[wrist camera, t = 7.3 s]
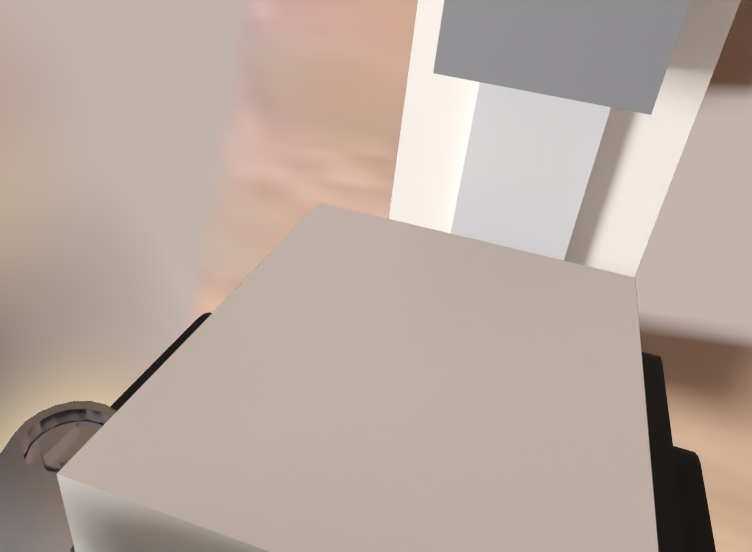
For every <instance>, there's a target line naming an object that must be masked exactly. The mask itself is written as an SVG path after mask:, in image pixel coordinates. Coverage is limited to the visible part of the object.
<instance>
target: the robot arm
mask: <svg viewBox="0 0 752 552" xmlns="http://www.w3.org/2000/svg"><path fill="white" fill-rule="evenodd" d="M258 266H259V265H258ZM258 266H257V267H258ZM257 267H256V268H257ZM211 314H212V313H210V312H209V313H205V314H203V315H202V316H200V317H199V318H198V319H197V320H196V321H195V322H194V323H193V324H192V325H191V326H190V327H189V328H188V329H187V330H186V331H185V332H184V333H183V334H182V335H181V336H180V337H179V338H178V339H177V340H176V341H175V342H174V343H173V344H172V345H171V346H170V347H169V348H168V349H167V350H166V351H165V352H164V353H163V354H162V355H161V356H160V357H159V358H158V359H157V360H156V361H155V362H154V363H153V364H152V365H151V366H150V367H149V368H148V369H147V370H146V371H145V372H144V373H143V374H142V375H141V376H140V377H139V378H138V379H137V380H136V381H135V382H134V383H133V384H132V385H131V386H130V387H129V388H128V390H126V391H125V392H124V394H122V396H120V397H119V398H118V400H117V401H116V402H115V403H113V405H112V406H111V407H109V406H107V405H105V404H101V403H96V402H92V401H73V402H68V403H64V404H59V405H55V406H53V407H50V408H48V409H46V410H43V411H41V412H39V413H37V414H36V415H35V416H33V417H31V418H30V419H28V420H27V421H25V422H24V424H23V425H22V426H21V427H20V428H19V429H18V430H17V431H16V432H15V433H14V435H13V436H12V438H11V439H10V440H9V442H8V443H7V445H6V446H5V448H4V449H3V451H2V452H1V453H0V552H75V549H74V545H73V540H72V536H71V532H70V528H69V524H68V520H67V515H66V511H65V507H64V503H63V499H62V495H61V491H60V486H59V482H58V478H57V473H58V472H59V471H60V470H61V469H62V468H63V467H64V466H65V465H66V463H67V462H68V461H69V460H70V459H71V458H72V457H73V456H74V455H75V454H76V453H77V452H78V451H79V450H80V449H81V448H82V447H83V446H84V445H85V444H86V443H87V442H88V441H89V440H90V439H91V438H92V437H93V436H94V435H95V434H96V433H97V432H98V430H99V429H100V428H101V427H102V426H103V425H104V424H105V423H106V422H107V421H108V420H109V419H110V418H111V417H112V416H113V415H114V414H115V413H116V412H117V411H118V410H119V409H120V408H121V407H122V406H123V405H124V404H125V403H126V402H127V401H128V400H129V399H130V397H131V396H132V395H133V394H134V393H135V392H136V391H137V390H138V389H139V388H140V387H141V386H142V385H143V384H144V383H145V382H146V381H147V380H148V379H149V378H150V377H151V376H152V375H153V374H154V373H155V372H156V371H157V370H158V369H159V368H160V367H161V366H162V364H163V363H164V362H165V361H166V360H167V359H168V358H169V357H170V356H171V355H172V354H173V353H174V352H175V351H176V350H177V349H178V348H179V347H180V346H181V345H182V344H183V343H184V342H185V341H186V340H187V339H188V338H189V337H190V336H191V335H192V334H193V333H194V331H195V330H196V329H197V328H198V327H199V326H200V325H201V324H202V323H203V322H204V321H205V320H206V319H207V318H208V317H209V316H210V315H211ZM641 353H642V364H643V376H644V388H645V399H646V411H647V423H648V435H649V446H650V458H651V470H652V481H653V493H654V505H655V517H656V528H657V540H658V552H716V550H715V544H714V538H713V533H712V527H711V521H710V515H709V510H708V504H707V498H706V492H705V487H704V481H703V475H702V469H701V464H700V461H699V457H698V456H697V455H696V453H695V452H692V451H689V450H685V449H682V448H678V447H675V446H673V443H672V435H671V427H670V420H669V412H668V404H667V396H666V388H665V381H664V373H663V365H662V360H661V357H659V356H656V355H652V354H648V353H645V352H641Z"/></svg>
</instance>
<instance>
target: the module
mask: <svg viewBox="0 0 752 552" xmlns="http://www.w3.org/2000/svg"><path fill="white" fill-rule="evenodd" d="M57 478H58V482H59V486H60V491H61V495H62V499H63V503H64V507H65V511H66V515H67V520H68V524H69V528H70V532H71V536H72V540H73V545H74V549H75V552H658V540H657V528H656V517H655V505H654V493H653V481H652V470H651V458H650V446H649V435H648V423H647V411H646V399H645V388H644V376H643V364H642V353H641V341H640V329H639V317H638V306H637V294H636V282H635V277H631V276H627V275H622V274H618V273H614V272H610V271H606V270H601V269H597V268H593V267H589V266H585V265H580V264H576V263H572V262H568V261H564V260H560V259H555V258H551V257H547V256H543V255H539V254H534V253H530V252H526V251H522V250H518V249H513V248H509V247H505V246H501V245H497V244H493V243H488V242H484V241H480V240H476V239H472V238H467V237H463V236H459V235H455V234H451V233H446V232H442V231H438V230H434V229H430V228H426V227H421V226H417V225H413V224H409V223H405V222H400V221H396V220H392V219H388V218H384V217H379V216H375V215H371V214H367V213H363V212H359V211H354V210H350V209H346V208H342V207H338V206H333V205H329V204H325V203H321V202H320V203H319V204H318V205H317V206H316V207H315V208H314V209H313V210H312V211H311V212H310V213H309V214H308V215H307V216H306V217H305V218H304V219H303V220H302V221H301V222H300V223H299V224H298V225H297V226H296V227H295V228H294V229H293V230H292V231H291V233H290V234H289V235H288V236H287V237H286V238H285V239H284V240H283V241H282V242H281V243H280V244H279V245H278V246H277V247H276V248H275V249H274V250H273V251H272V252H271V253H270V254H269V255H268V256H267V257H266V258H265V259H264V260H263V261H262V262H261V263H260V264H259V266H258V267H257V268H256V269H255V270H254V271H253V272H252V273H251V274H250V275H249V276H248V277H247V278H246V279H245V280H244V281H243V282H242V283H241V284H240V285H239V286H238V287H237V288H236V289H235V290H234V291H233V292H232V293H231V294H230V295H229V296H228V297H227V298H226V300H225V301H224V302H223V303H222V304H221V305H220V306H219V307H218V308H217V309H216V310H215V311H214V312H213V313H212V314H211V315H210V316H209V317H208V318H207V319H206V320H205V321H204V322H203V323H202V324H201V325H200V326H199V327H198V328H197V329H196V330H195V331H194V333H193V334H192V335H191V336H190V337H189V338H188V339H187V340H186V341H185V342H184V343H183V344H182V345H181V346H180V347H179V348H178V349H177V350H176V351H175V352H174V353H173V354H172V355H171V356H170V357H169V358H168V359H167V360H166V361H165V362H164V363H163V364H162V366H161V367H160V368H159V369H158V370H157V371H156V372H155V373H154V374H153V375H152V376H151V377H150V378H149V379H148V380H147V381H146V382H145V383H144V384H143V385H142V386H141V387H140V388H139V389H138V390H137V391H136V392H135V393H134V394H133V395H132V396H131V397H130V399H129V400H128V401H127V402H126V403H125V404H124V405H123V406H122V407H121V408H120V409H119V410H118V411H117V412H116V413H115V414H114V415H113V416H112V417H111V418H110V419H109V420H108V421H107V422H106V423H105V424H104V425H103V426H102V427H101V428H100V429H99V430H98V432H97V433H96V434H95V435H94V436H93V437H92V438H91V439H90V440H89V441H88V442H87V443H86V444H85V445H84V446H83V447H82V448H81V449H80V450H79V451H78V452H77V453H76V454H75V455H74V456H73V457H72V458H71V459H70V460H69V461H68V462H67V463H66V465H65V466H64V467H63V468H62V469H61V470H60V471H59V472H58V473H57Z"/></svg>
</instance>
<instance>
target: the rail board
mask: <svg viewBox="0 0 752 552" xmlns="http://www.w3.org/2000/svg"><path fill="white" fill-rule="evenodd" d="M740 2H741V0H418V6H417V13H416V21H415V28H414V36H413V43H412V51H411V58H410V66H409V73H408V81H407V88H406V95H405V103H404V110H403V118H402V125H401V133H400V140H399V148H398V155H397V163H396V170H395V178H394V185H393V192H392V200H391V207H390V215H389V219H392V220H396V221H400V222H405V223H409V224H413V225H417V226H421V227H426V228H430V229H434V230H438V231H442V232H446V233H451V234H455V235H459V236H463V237H467V238H472V239H476V240H480V241H484V242H488V243H493V244H497V245H501V246H505V247H509V248H513V249H518V250H522V251H526V252H530V253H534V254H539V255H543V256H547V257H551V258H555V259H560V260H564V261H568V262H572V263H576V264H580V265H585V266H589V267H593V268H597V269H601V270H606V271H610V272H614V273H618V274H622V275H627V276H631V277H635V275H636V272H637V269H638V267H639V264H640V262H641V259H642V256H643V254H644V251H645V249H646V246H647V243H648V241H649V238H650V235H651V233H652V230H653V228H654V225H655V223H656V220H657V217H658V215H659V212H660V209H661V207H662V204H663V202H664V199H665V197H666V194H667V191H668V189H669V186H670V184H671V181H672V178H673V176H674V173H675V171H676V168H677V166H678V163H679V160H680V158H681V155H682V153H683V150H684V147H685V145H686V142H687V140H688V137H689V134H690V132H691V129H692V127H693V124H694V121H695V119H696V116H697V113H698V111H699V108H700V106H701V103H702V101H703V98H704V95H705V93H706V90H707V88H708V85H709V82H710V80H711V77H712V75H713V72H714V69H715V67H716V64H717V62H718V59H719V56H720V54H721V51H722V49H723V46H724V43H725V41H726V38H727V36H728V33H729V30H730V28H731V25H732V23H733V20H734V17H735V15H736V12H737V10H738V7H739V4H740Z"/></svg>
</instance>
